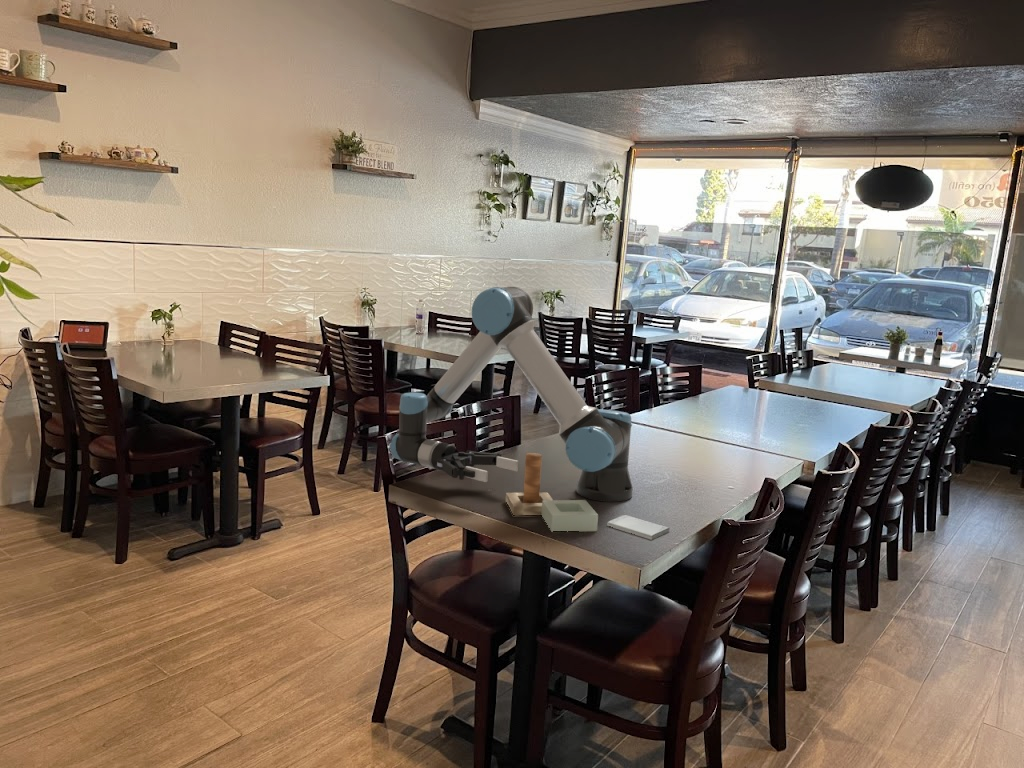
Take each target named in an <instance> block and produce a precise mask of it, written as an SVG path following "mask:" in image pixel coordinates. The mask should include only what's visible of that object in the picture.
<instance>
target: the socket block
mask: <svg viewBox="0 0 1024 768" xmlns="http://www.w3.org/2000/svg"><path fill="white" fill-rule="evenodd" d="M541 515H542V517H543V518H544V520H545V521H544V520H543V521H544V522H546V523H547V524H546V523H545V524H546V525H548V526H547V528H548V529H549V528H550V529H549V531H551V533H554V532H553V531H567V532H566V533H569V532H568V531H579V532H597V531H598V523H599V522H598V521H599V514H598V512H596V511H595V509H593V507H592V506H591V504H589V502H588V501H587V500H586V499H566V500H565V499H561V500H559V499H555V500H554V499H553V500H542V511H541ZM542 517H541V518H542ZM543 518H542V519H543Z"/></svg>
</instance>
